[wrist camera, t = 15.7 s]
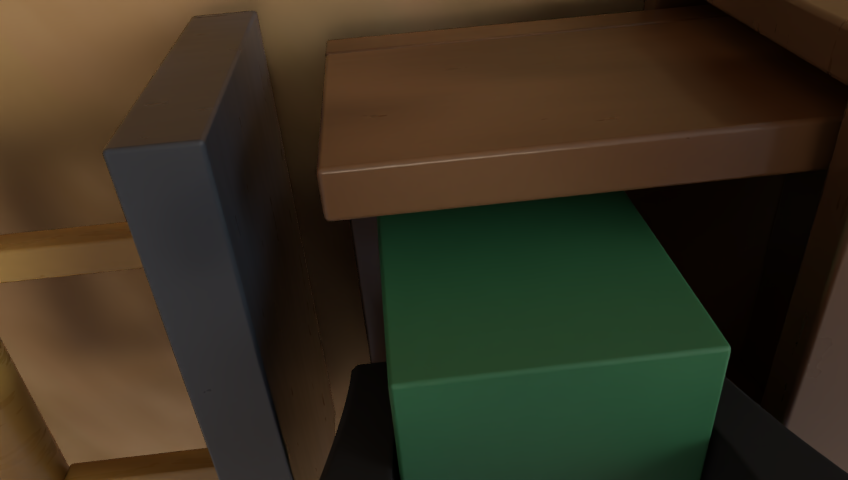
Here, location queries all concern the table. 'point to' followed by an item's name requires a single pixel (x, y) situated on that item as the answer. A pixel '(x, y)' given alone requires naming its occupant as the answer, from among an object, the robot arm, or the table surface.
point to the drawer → (427, 199)
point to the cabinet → (810, 240)
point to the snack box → (544, 345)
